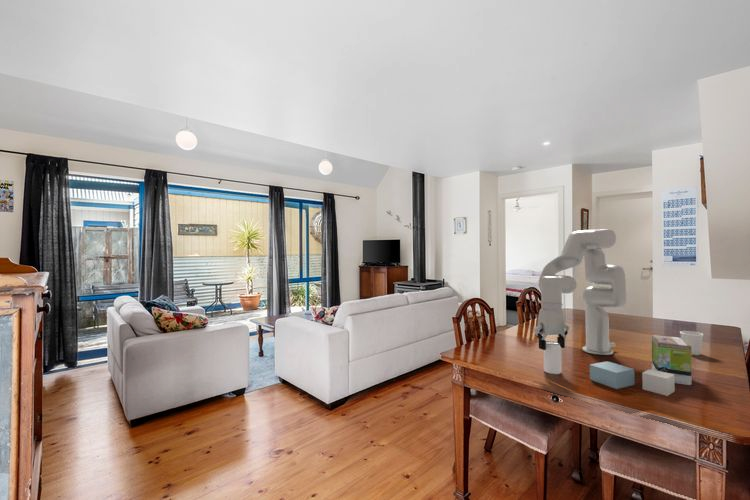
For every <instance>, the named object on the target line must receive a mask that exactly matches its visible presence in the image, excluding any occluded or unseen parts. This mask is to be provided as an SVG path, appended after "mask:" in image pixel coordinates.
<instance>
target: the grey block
mask: <svg viewBox="0 0 750 500" xmlns="http://www.w3.org/2000/svg"><path fill="white" fill-rule="evenodd" d="M641 378H642V382H641V383H642V390H643V391H644V390H645V391H648V392H652V393H655V394H658V395H662V396H666V397H668V396H670V395H671V394H673V393H674V392H675V391H676V389H675V388H676V387H675V384H676V383H675V380H674V374H670V373H666V372H661V371H657V370H653V369H652V368H649V369H647V370H645V371H643V372H642V373H641Z"/></svg>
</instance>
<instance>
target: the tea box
mask: <svg viewBox="0 0 750 500" xmlns="http://www.w3.org/2000/svg"><path fill="white" fill-rule="evenodd" d="M691 354H692V351H691V345H690V344H688V343H687V342H686V341H685V340H684V339H683V338H681V337H677V336H668V335H667V336H666V335H665V336H664V335H657V334H652V335H651V369H653V370H657V371H661V372H666V373H670V374H674V380H675V384H679V385H686V386H691V385H692V380H693V379H692V371H693V370H692V360H693V359H692V355H691Z"/></svg>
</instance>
